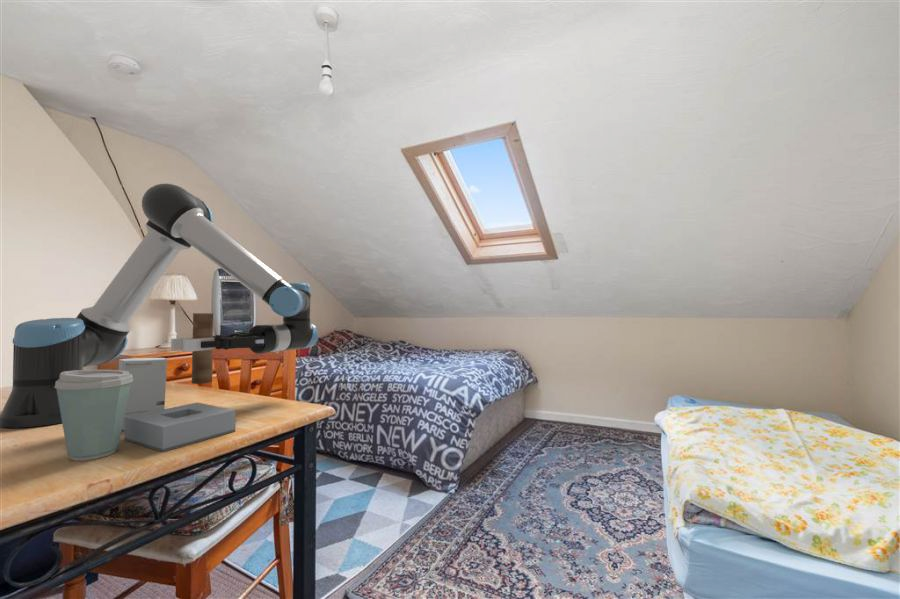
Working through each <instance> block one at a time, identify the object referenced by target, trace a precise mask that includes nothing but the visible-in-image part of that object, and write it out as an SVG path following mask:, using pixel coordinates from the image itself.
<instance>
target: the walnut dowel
mask: <svg viewBox="0 0 900 599" xmlns="http://www.w3.org/2000/svg"><path fill="white" fill-rule="evenodd" d="M213 336H214V313H210V312H209V313H207V312H206V313H202V312H201V313H199V312H197V313H193V314H192V337H193V339H199V338H213ZM213 350H214V349H213ZM213 350H202V351H191V353H192V354H191V362H192V363H191V384H192V385H194V384H195V385H202V384H210V383H212V382H213Z"/></svg>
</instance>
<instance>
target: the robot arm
mask: <svg viewBox="0 0 900 599" xmlns="http://www.w3.org/2000/svg"><path fill="white" fill-rule="evenodd" d="M141 208H142V211H143V214H144V215H145V217H146V218H147V220H148V221H147V222H146V223H145V228H146V230H147V233H146V234H145V236H144V237H143V238H142V240H141V241H140V242H139V244H138V245H137V247H136V248H135V249H134V251H133V252H132V253H131V254H130V256H129V257H128V259H127V260H126V262H125V263H124V264H123V266H122V267H121V268H120V270H118V272H117V274H116V275H115V276H114V278H113V279H112V281H111V282H110V283H109V284H108V286H107V287H106V289H104V291H103V292H102V294H101V295H100V297H99V298H98V299H97V301H96V302H95V304H93V306H90V307H85V308H82V309H81V310H80V312H79V313H78V315H77V316H76V317H54V318H52V317H51V318H46V319H44V318H41V319H33V320H28V321H24V322H21V323H19V324H18V325H17V326H16V327H15V328H14V336H13V338H12V344H13V356H12V357H13V360H12V388H11V392H10V394H9V395H8V398H7V400H6V402H5V404H4V406H3V409H2V411H1V413H0V427H1V428H10V429H14V428H15V429H17V428H19V429H21V428H32V427H33V428H34V427H42V426H50V425H55V424H56V425H57V424H62V418H61V412H60V407H59V401H58V395H57V389H56V388H55V383H56V381H57V380H58V379H60V374H61V373H62V372H65V371H74V370H84V368H86V367H91V366H99V365H103V364H106V363H108V362H111V361H113V360H115V359H116V358H118V357H119V356H120V355H121V354H122V353H123V352H124V351H125V350H126V348H127V345H128V340H129V339H128V338H127V336H128V334H129V333H130V331H131V329H132V327H131V325H130V324H131V323H130V320H131V319H132V318H133V316H134V315H135V314H136V313H137V311H138V310H139V308H140V307H141V306H142V304H143V303H144V301H145V300H146V298H147V297H148V296H149V295H150V293H151V292H152V290H153V289H154V287H155V286H156V285H157V284H158V282H159V281H160V280H161V278H162V276H163V275H164V274H165V272H166V271H167V269H168V268H169V267H170V265H171V264H172V262H173V261H174V260H175V258H176V257H177V256H178V254H179V253H180V252H181V251H183V250H189V249H190V248H191V247H193V248H195V249H196V250H197V251H198V252H199V253H200V254H202V255H203V256H205V257H206V258H207V259H209V260H210V261H211V262H213V263H214V264H215V265H216V266H218V267H219V268H220V269H222V270H223V271H224V272H226V273H227V274H228V275H229V276H231V277H232V278H234V280H236V281H237V282H238V283H240V284H241V285H242V286H244V287H245V288H246V289H248V290H249V291H250V292H251V293H253V294H254V295H256V296H257V297H258V298H259V299H261V300H262V301H263V302H264V303H265V304H266V305H268V306H270V308H271V310H272V311H273V312H274V313H275V314H277V315H279V316H281V317H283V318H282V323H280V324H277V323H276V324H275V323H274V324H271V323H270V324H257V325H254V326H252V327H251V328H250V329H249V331H248V332H246V331H244V332H238V333H229V334H224V335H223V334H216V335H213V338H199V339H193V336H191V337H177V338H170V352H171V351H172V352H175V351H183V353H189V352H190V353H192V351H202V350H215V349H216V350H221V349H223V350H226V351H227V350H232V349H233V350H234V349H249V350H251V352H253V353H254V354H266V353H273V352H274V353H275V354H279V353H280V352H281V351H282V352H284V351H292V350H293V351H295V350H304V349H308V348H312V347H314V346H315V345H316V344H317V342H318V340H319V331H318V329H317V326H316V325H315V324H314V323H311V297H312V293H311V285H310V284H308V283H305V282H304V283H303V282H288V281H287V280H285V279H283V278H282V276H280V275H279V274H278V273H276V272H275V271H274V270H272V269H271V268H270V267H269V266H267V265H266V264H265V263H263V262H262V261H261V260H260V259H258V258H257V256H255V255H254V254H252V253H251V252H250V251H248V250H247V249H246V248H244V247H243V246H242V245H241V244H240V243H238V242H237V241H236V240H235V239H233V238H232V237H230V235H228V234H227V233H226V232H225V231H223V230H222V229H221V228H219V226H217V225H215V223H214V217H213V213H212V210H211V209H210V207H209V206H208V205H207V203H205V202H204V201H203V200H202V199H201V198H199V197H197V196H196V195H193V194H192V193H191V192H189V191H187V189H185V188H183V187H181V186H179V185H176V184H172V183H160V184H159V183H158V184H155V185H153V186H151V187H150V188H148V189H146V191H145V192H144V194H143V195H142V199H141Z"/></svg>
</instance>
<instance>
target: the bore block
mask: <svg viewBox="0 0 900 599" xmlns="http://www.w3.org/2000/svg"><path fill="white" fill-rule="evenodd" d="M123 431H124V432H123V433H124V434H123V441H127V442H129V441H130V443H132V442H133V444H135V445H139V446H143V447H146V448H149V449H153V450H156V451H158V452H163V453H164V452H167V451H171V450H174V449H177V448H181V447H185V446H189V445H193V444H197V443H199V442H203V441H205V440H209V439H214V438H217V437H221V436H223V435H227V434H231V433H234V432H236V409H232V408H227V407H221V406H217V405H211V404H205V403H200V402H193V403H189V404H184V405H179V406H174V407H169V408H164V409H162V410H157V411H152V412H147V413H142V414H137V415H132V416H127V417H125V423H124V430H123Z"/></svg>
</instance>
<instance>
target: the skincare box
mask: <svg viewBox="0 0 900 599" xmlns="http://www.w3.org/2000/svg"><path fill="white" fill-rule="evenodd" d="M167 365H168V359H167V358H165V357H138V358H123V359H122V358H120V359H118V370H122V371H127V372H129V374H132V377H133V381H132V382H131V386H130V391H129V396H128V401H127V406H126V410H125V415H124V420H123V425H122V430H121V432H122V431H124V423H125V417H127V416H132V415H137V414H142V413H147V412H152V411H157V410H162V409H166V408H165V406H166V403H165V402H166V386H167Z"/></svg>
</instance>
